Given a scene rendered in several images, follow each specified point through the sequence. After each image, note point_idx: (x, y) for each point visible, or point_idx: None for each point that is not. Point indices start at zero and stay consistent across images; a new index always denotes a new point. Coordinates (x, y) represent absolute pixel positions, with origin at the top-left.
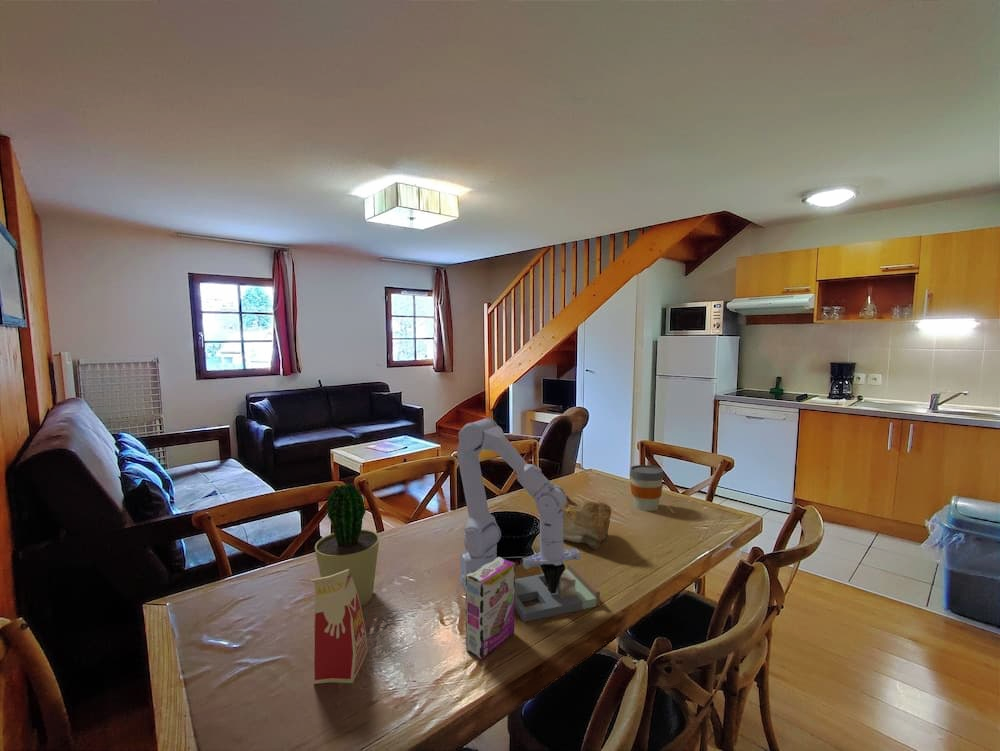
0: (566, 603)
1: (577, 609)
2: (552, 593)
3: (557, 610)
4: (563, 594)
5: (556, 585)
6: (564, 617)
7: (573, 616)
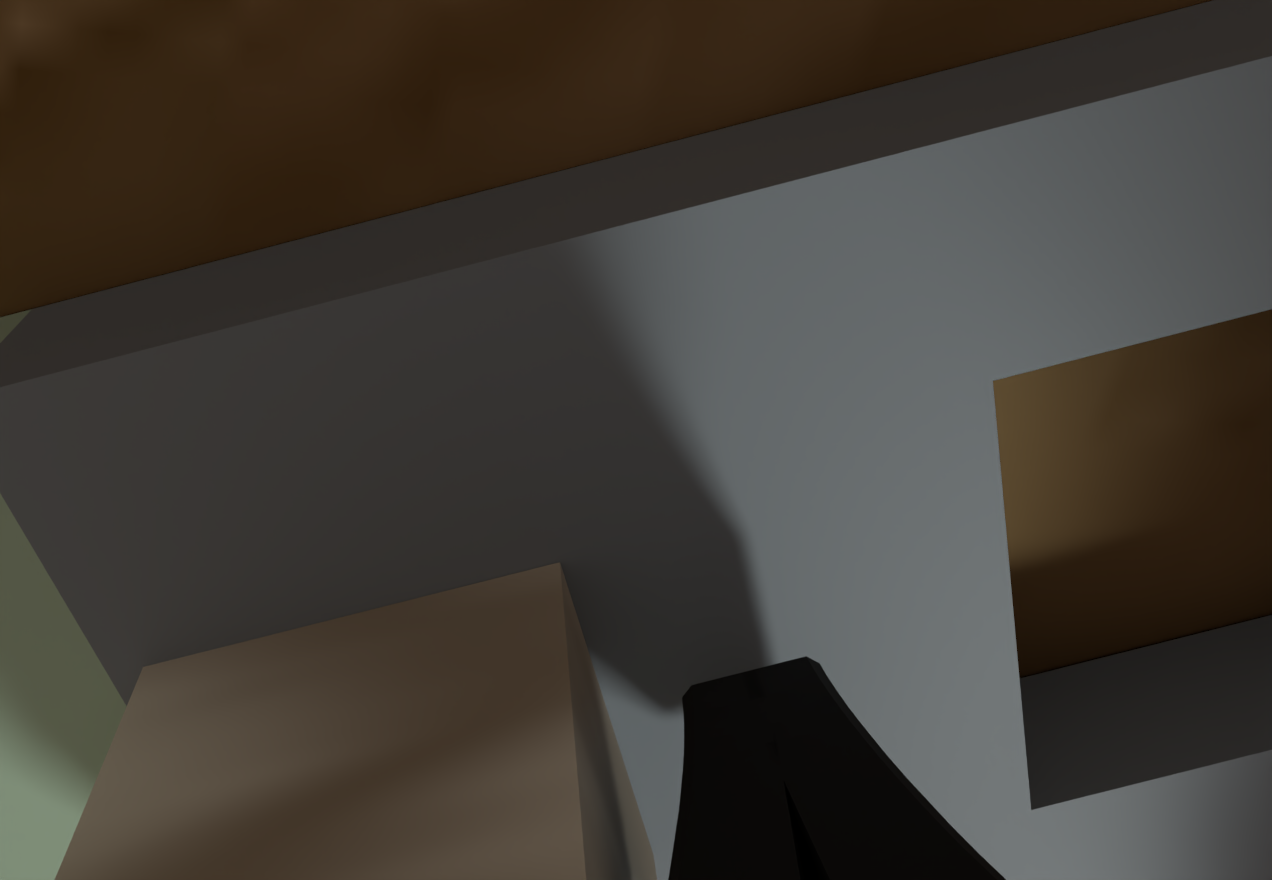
0: (445, 331)
1: (160, 283)
2: (780, 665)
3: (721, 166)
4: (480, 632)
5: (716, 835)
6: (549, 13)
7: (302, 35)
